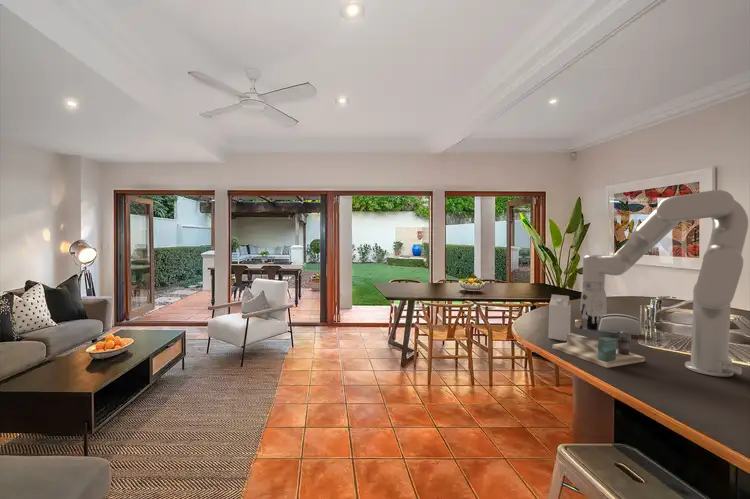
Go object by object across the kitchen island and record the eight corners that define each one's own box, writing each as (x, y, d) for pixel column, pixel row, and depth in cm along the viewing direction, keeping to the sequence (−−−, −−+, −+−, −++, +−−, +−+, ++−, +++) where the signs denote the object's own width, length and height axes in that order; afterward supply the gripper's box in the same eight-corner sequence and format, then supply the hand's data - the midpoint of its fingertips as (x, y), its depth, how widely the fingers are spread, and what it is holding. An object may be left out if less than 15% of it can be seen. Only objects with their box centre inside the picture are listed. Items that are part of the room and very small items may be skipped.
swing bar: (630, 339, 146) (631, 325, 146) (630, 342, 143) (631, 327, 143) (575, 332, 157) (576, 318, 156) (574, 334, 153) (574, 320, 153)
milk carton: (552, 335, 177) (553, 293, 176) (570, 338, 172) (571, 295, 171) (548, 338, 171) (549, 295, 170) (565, 341, 167) (567, 297, 166)
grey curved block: (639, 333, 181) (641, 314, 177) (641, 338, 177) (642, 319, 173) (598, 328, 188) (598, 310, 185) (598, 334, 184) (599, 315, 181)
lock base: (644, 361, 142) (645, 336, 141) (606, 367, 135) (607, 342, 134) (587, 343, 164) (587, 322, 164) (552, 348, 157) (552, 325, 157)
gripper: (589, 288, 147) (588, 337, 148) (614, 286, 153) (613, 332, 154) (571, 286, 154) (570, 332, 155) (596, 284, 160) (595, 328, 161)
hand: (592, 332), depth 154 cm, fingers closed
